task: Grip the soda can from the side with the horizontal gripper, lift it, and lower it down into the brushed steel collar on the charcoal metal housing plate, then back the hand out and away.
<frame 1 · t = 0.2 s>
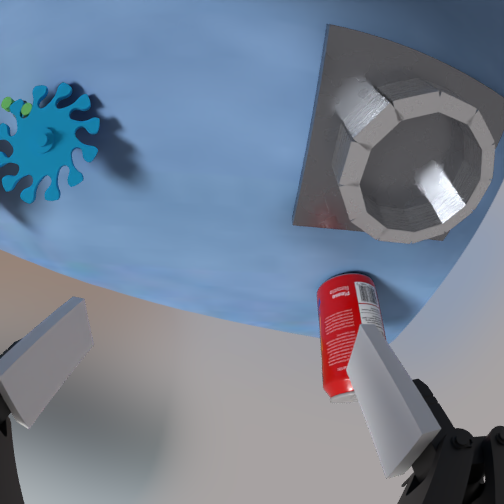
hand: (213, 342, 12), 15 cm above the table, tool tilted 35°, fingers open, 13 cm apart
blue spiky toy: (65, 116, 18), on the table
soda can: (344, 284, 35), on the table
housing: (408, 152, 20), on the table
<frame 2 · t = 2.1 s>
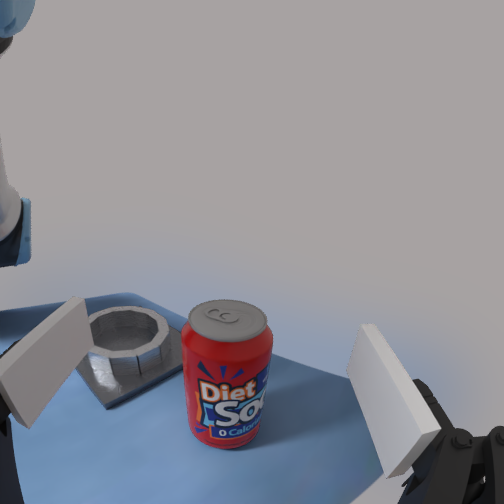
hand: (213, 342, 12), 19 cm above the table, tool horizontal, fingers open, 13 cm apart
soda can: (224, 427, 27), on the table
housing: (125, 349, 38), on the table
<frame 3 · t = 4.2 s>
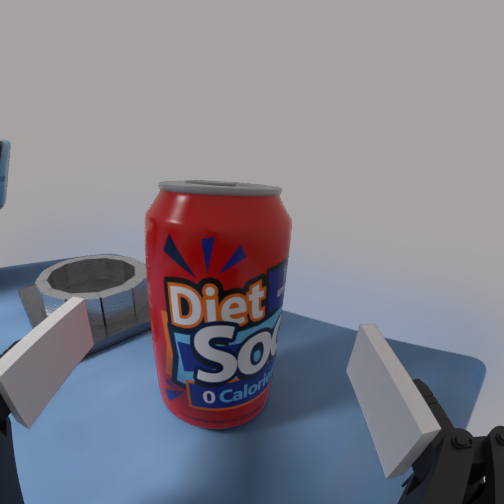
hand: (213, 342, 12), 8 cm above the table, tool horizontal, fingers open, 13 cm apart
soda can: (214, 398, 19), on the table
housing: (95, 304, 29), on the table
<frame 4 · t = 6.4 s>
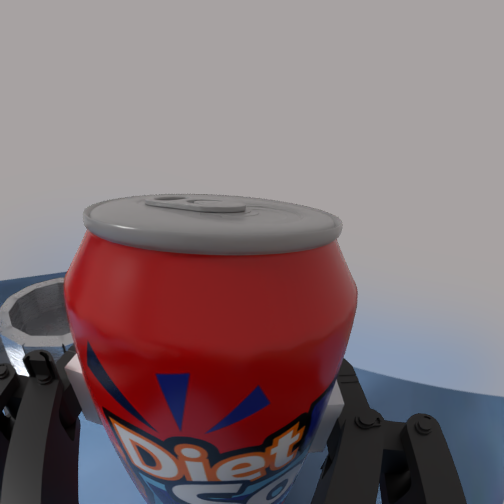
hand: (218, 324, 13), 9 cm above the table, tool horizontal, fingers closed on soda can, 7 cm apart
soda can: (213, 487, 11), on the table, touching gripper
housing: (67, 339, 22), on the table
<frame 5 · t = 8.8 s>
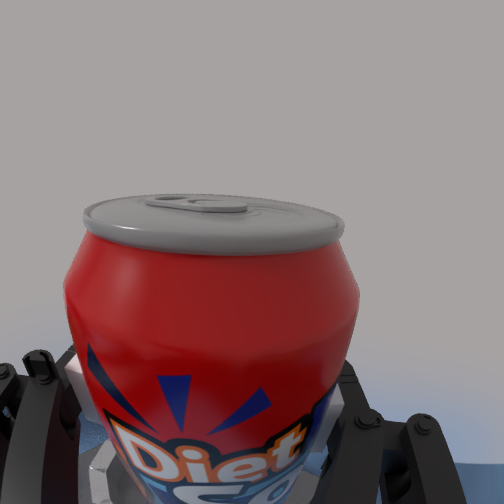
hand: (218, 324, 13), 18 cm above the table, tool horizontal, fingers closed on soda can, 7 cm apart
soda can: (213, 488, 11), point 9 cm above the table, touching gripper
housing: (181, 497, 16), on the table
when the fingers open (11 cm above the table, at t = 11.2 s): soda can drops 1 cm, resting on housing.
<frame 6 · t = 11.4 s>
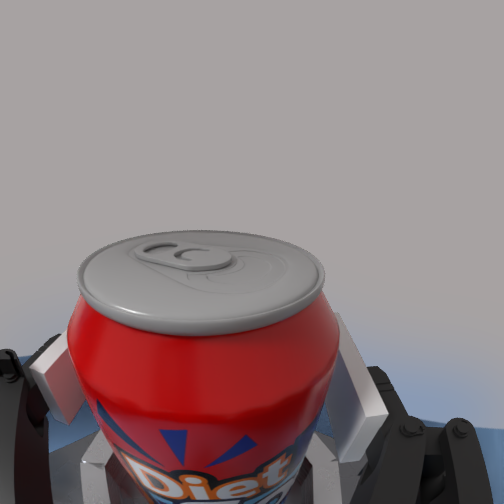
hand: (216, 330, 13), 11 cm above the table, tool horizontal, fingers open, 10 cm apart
soda can: (217, 494, 12), point 1 cm above the table, touching housing
housing: (210, 499, 12), on the table
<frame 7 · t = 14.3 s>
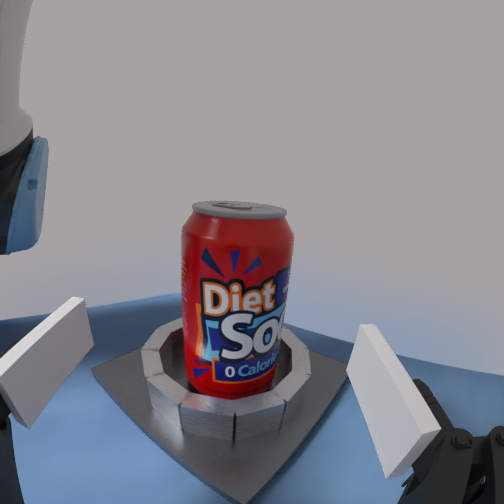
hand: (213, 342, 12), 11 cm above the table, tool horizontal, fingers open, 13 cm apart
soda can: (229, 378, 23), point 1 cm above the table, touching housing
housing: (225, 385, 23), on the table
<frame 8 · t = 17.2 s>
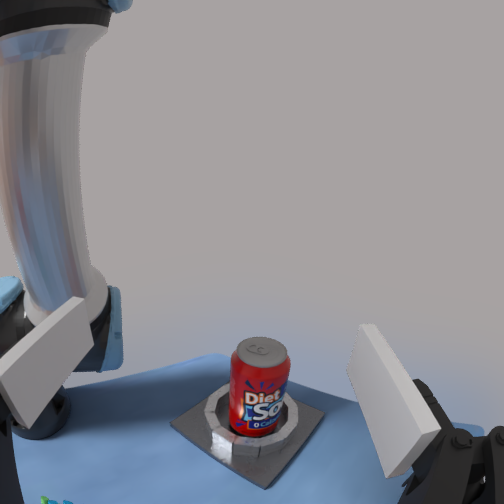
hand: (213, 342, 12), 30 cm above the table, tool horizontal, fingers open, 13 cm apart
soda can: (253, 422, 38), point 1 cm above the table, touching housing
housing: (250, 425, 38), on the table
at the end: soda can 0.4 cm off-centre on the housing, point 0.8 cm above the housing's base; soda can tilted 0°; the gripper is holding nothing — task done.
